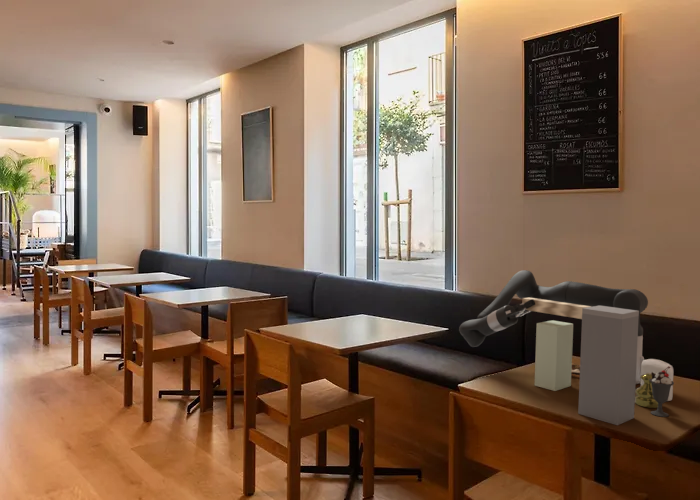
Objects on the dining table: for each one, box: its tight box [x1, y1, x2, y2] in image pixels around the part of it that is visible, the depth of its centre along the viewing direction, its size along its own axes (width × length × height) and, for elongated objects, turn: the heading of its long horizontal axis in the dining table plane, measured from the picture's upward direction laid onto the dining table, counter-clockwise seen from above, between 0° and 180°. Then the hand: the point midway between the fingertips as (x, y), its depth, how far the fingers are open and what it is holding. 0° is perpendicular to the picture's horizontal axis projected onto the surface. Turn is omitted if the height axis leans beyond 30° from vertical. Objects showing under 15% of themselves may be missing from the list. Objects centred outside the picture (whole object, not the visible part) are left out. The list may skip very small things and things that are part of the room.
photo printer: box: [640, 358, 674, 402], centre depth 193 cm, size 10×4×12 cm, turn 26°
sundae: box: [649, 366, 675, 418], centre depth 176 cm, size 7×7×15 cm
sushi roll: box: [571, 362, 580, 379], centre depth 221 cm, size 15×15×4 cm
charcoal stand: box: [577, 305, 639, 426], centre depth 173 cm, size 12×10×32 cm
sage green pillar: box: [534, 319, 574, 392], centre depth 204 cm, size 8×10×22 cm
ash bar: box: [521, 297, 591, 320], centre depth 203 cm, size 24×4×4 cm, turn 39°
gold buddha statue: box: [635, 373, 658, 409], centre depth 185 cm, size 7×8×10 cm
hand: (537, 301), depth 208 cm, fingers closed on ash bar, 4 cm apart
